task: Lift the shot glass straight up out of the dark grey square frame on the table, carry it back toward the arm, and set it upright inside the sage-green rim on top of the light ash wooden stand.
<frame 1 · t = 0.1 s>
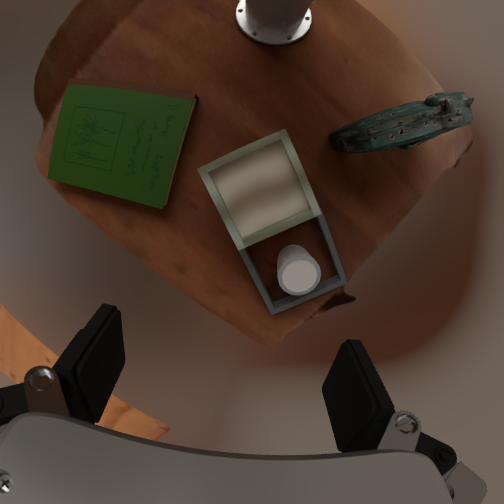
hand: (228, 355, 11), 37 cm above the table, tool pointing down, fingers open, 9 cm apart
dark grey square frame: (292, 259, 50), on the table
ceramic cat: (376, 127, 42), on the table
stand: (257, 181, 45), on the table
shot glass: (292, 258, 50), resting in dark grey square frame
hardcover book: (117, 136, 42), on the table
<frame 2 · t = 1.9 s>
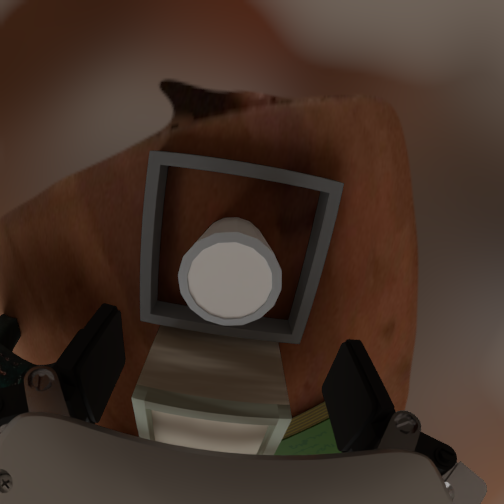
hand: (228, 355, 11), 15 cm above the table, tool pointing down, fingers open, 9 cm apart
dark grey square frame: (232, 248, 25), on the table
ceramic cat: (44, 335, 28), on the table
stand: (213, 373, 30), on the table
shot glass: (232, 247, 25), resting in dark grey square frame
hardcover book: (313, 449, 38), on the table
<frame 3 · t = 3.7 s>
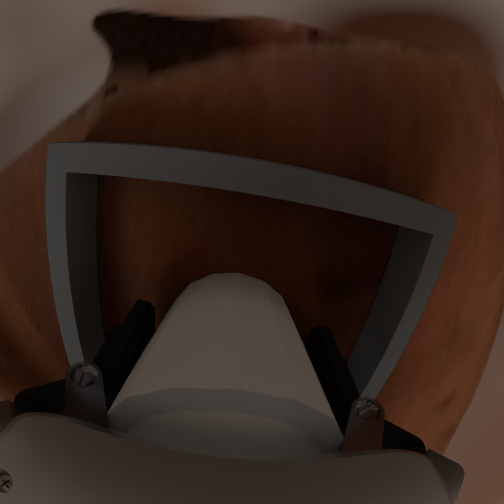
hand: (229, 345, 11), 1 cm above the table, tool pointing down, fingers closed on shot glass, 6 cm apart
dark grey square frame: (230, 327, 13), on the table
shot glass: (230, 324, 13), resting in dark grey square frame, touching gripper
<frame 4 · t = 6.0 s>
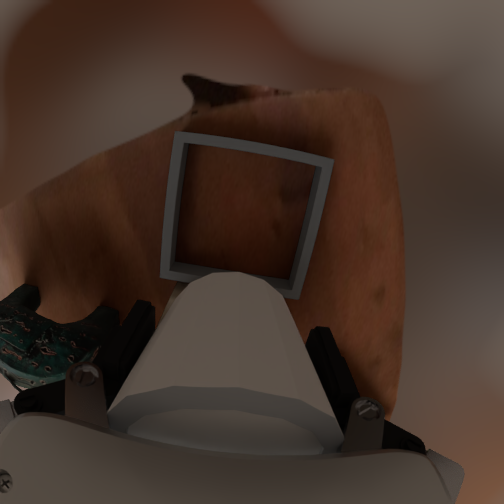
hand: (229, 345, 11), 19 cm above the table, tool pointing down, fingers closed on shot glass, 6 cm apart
dark grey square frame: (241, 214, 29), on the table
ceramic cat: (65, 301, 33), on the table
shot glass: (230, 324, 13), point 18 cm above the table, touching gripper
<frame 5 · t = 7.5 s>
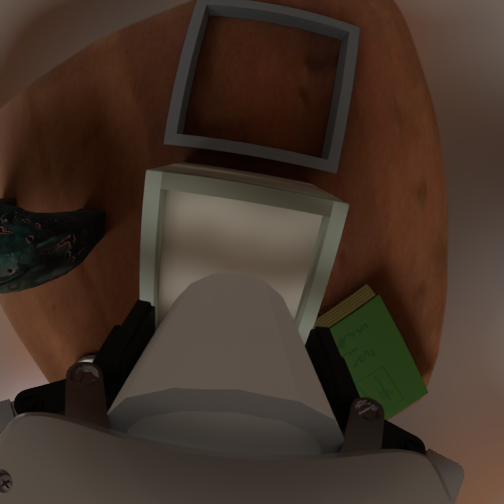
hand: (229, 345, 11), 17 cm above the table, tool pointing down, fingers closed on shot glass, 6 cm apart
dark grey square frame: (264, 79, 22), on the table
ceramic cat: (43, 212, 26), on the table
stand: (236, 232, 27), on the table
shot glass: (231, 325, 13), point 15 cm above the table, touching gripper
hardcover book: (344, 376, 36), on the table
when the fingers open (12 cm above the table, at t = 8.9 s): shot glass drops 1 cm, resting on stand.
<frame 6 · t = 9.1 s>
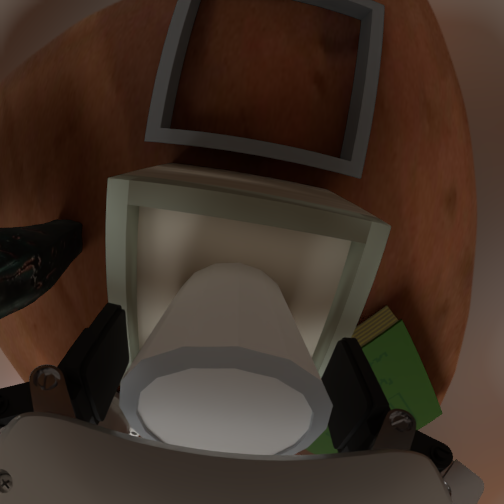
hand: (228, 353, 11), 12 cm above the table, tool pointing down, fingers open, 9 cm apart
dark grey square frame: (271, 61, 17), on the table
ceramic cat: (18, 222, 21), on the table
stand: (236, 249, 22), on the table
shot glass: (231, 311, 14), point 9 cm above the table, touching stand
hardcover book: (355, 400, 31), on the table
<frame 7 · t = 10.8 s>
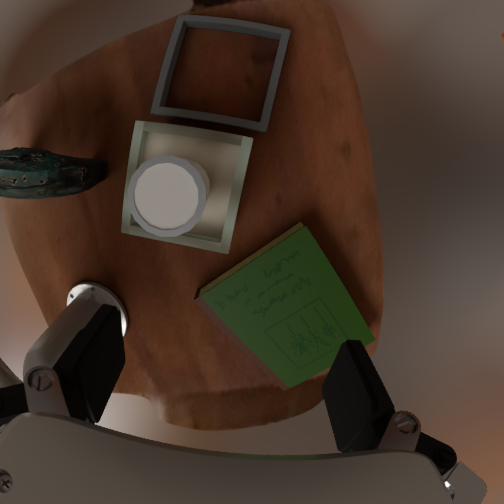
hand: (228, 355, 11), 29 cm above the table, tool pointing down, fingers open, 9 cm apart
dark grey square frame: (221, 71, 31), on the table
ceramic cat: (61, 164, 35), on the table
stand: (198, 176, 37), on the table
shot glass: (183, 185, 28), point 9 cm above the table, touching stand
hardcover book: (291, 312, 45), on the table
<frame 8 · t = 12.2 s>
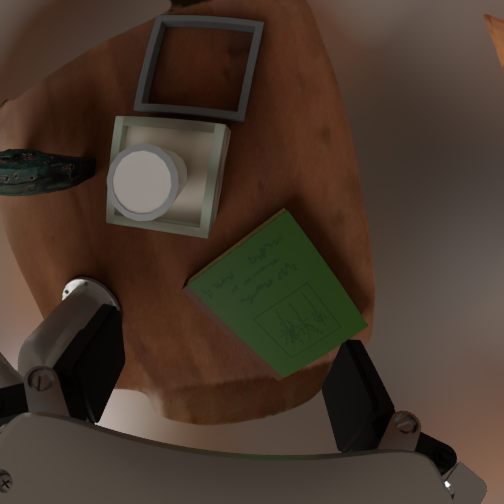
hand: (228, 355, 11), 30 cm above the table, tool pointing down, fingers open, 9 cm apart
dark grey square frame: (199, 66, 32), on the table
ceramic cat: (53, 164, 36), on the table
stand: (181, 167, 37), on the table
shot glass: (163, 174, 29), point 9 cm above the table, touching stand
hardcover book: (281, 300, 46), on the table
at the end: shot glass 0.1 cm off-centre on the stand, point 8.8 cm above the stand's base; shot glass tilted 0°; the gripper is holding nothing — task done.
